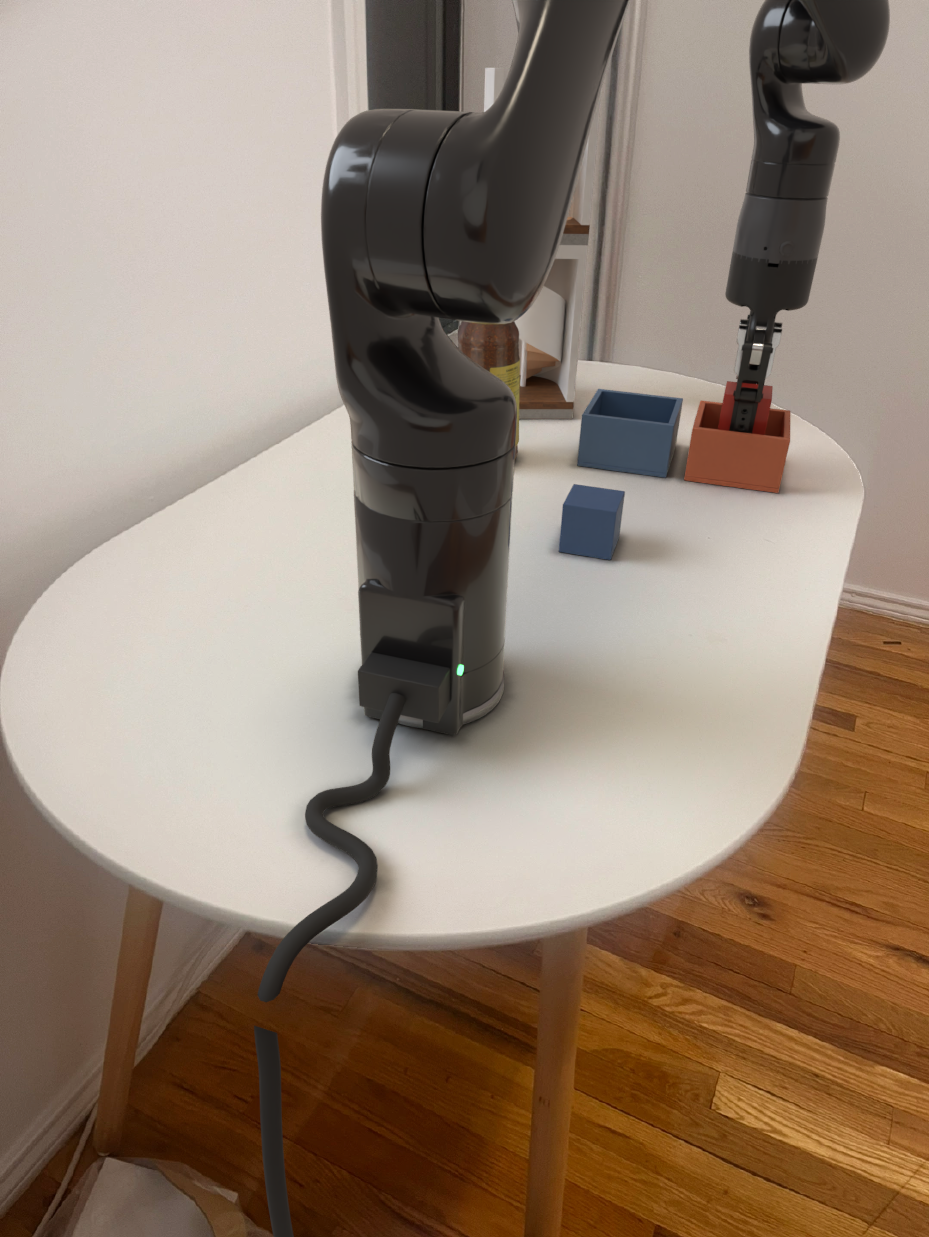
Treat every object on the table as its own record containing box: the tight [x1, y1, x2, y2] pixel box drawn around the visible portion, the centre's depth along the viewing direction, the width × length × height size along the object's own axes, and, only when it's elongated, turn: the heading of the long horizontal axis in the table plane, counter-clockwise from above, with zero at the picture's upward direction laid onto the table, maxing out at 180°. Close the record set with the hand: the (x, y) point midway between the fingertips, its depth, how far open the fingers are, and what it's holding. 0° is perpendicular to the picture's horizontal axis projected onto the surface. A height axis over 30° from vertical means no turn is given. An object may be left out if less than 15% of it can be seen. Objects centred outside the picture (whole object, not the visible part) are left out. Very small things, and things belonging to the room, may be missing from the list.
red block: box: [718, 380, 774, 435], centre depth 89 cm, size 4×4×4 cm
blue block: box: [558, 483, 626, 561], centre depth 75 cm, size 4×4×4 cm
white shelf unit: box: [483, 67, 603, 420], centre depth 99 cm, size 11×11×35 cm
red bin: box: [683, 400, 791, 494], centre depth 90 cm, size 9×9×6 cm
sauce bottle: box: [457, 321, 520, 460], centre depth 88 cm, size 6×6×20 cm
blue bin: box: [576, 388, 684, 479], centre depth 93 cm, size 9×9×6 cm
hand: (740, 428), depth 89 cm, fingers closed on red block, 4 cm apart
